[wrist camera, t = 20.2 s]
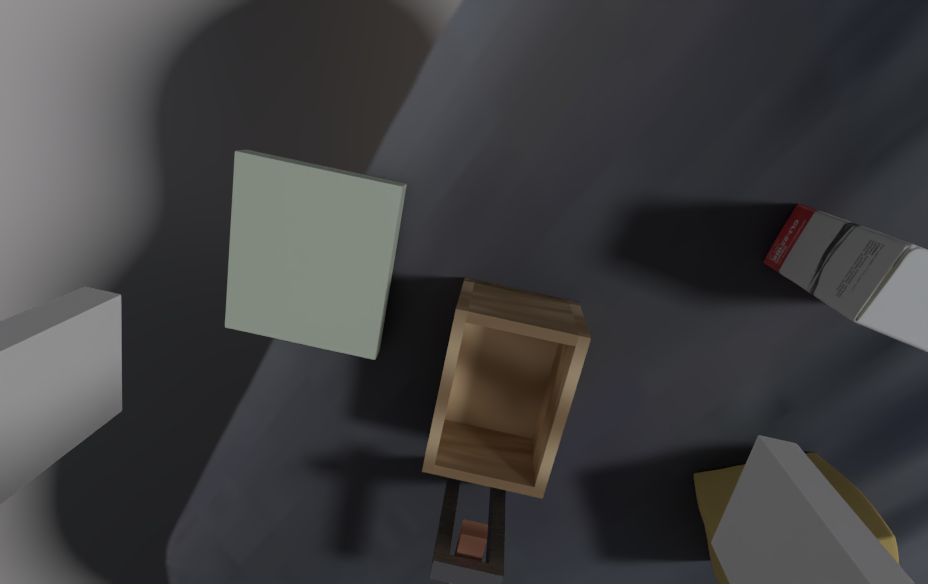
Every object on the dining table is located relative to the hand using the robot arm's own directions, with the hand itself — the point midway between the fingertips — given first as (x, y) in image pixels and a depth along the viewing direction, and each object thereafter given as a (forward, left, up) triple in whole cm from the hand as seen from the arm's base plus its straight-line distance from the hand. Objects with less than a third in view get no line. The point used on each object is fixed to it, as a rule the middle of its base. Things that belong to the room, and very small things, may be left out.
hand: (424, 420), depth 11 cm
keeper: (+24, +4, -31) cm, 39 cm away
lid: (+7, -12, -31) cm, 34 cm away
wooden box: (+13, +4, -31) cm, 34 cm away
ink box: (-1, +25, -31) cm, 40 cm away
